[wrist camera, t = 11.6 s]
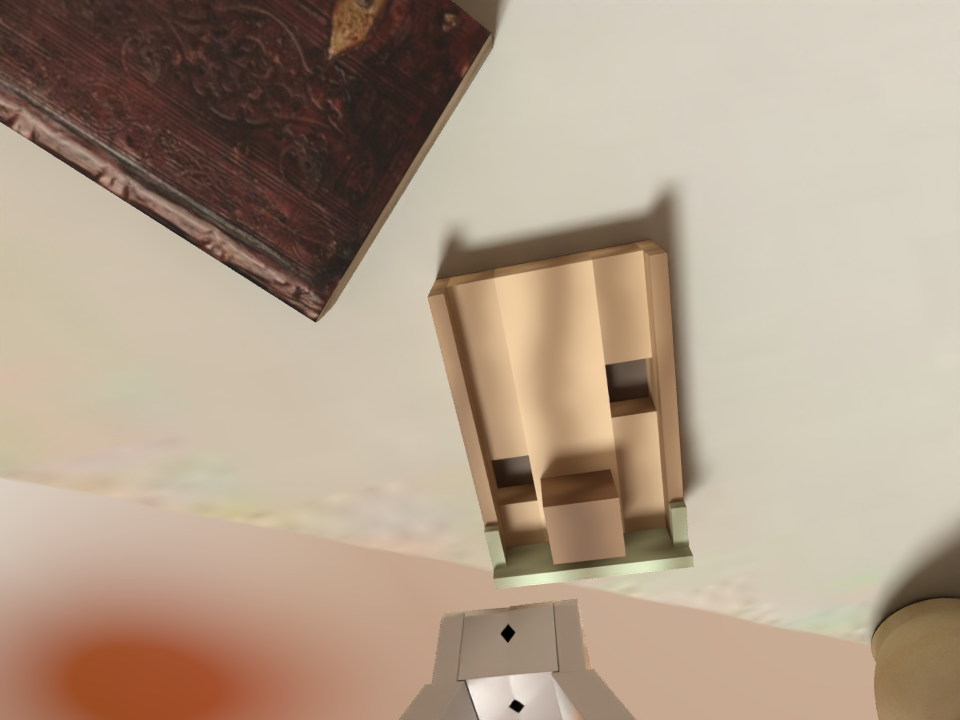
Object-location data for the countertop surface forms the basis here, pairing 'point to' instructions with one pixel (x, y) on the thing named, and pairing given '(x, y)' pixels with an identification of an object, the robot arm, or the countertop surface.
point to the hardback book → (245, 117)
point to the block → (583, 517)
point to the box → (568, 402)
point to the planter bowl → (919, 662)
